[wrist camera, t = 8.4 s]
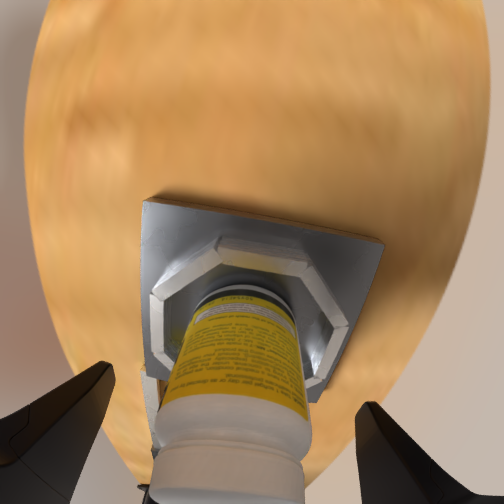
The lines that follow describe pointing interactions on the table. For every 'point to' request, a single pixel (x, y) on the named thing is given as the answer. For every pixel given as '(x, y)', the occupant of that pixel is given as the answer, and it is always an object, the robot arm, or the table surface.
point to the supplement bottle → (234, 406)
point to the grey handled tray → (248, 282)
